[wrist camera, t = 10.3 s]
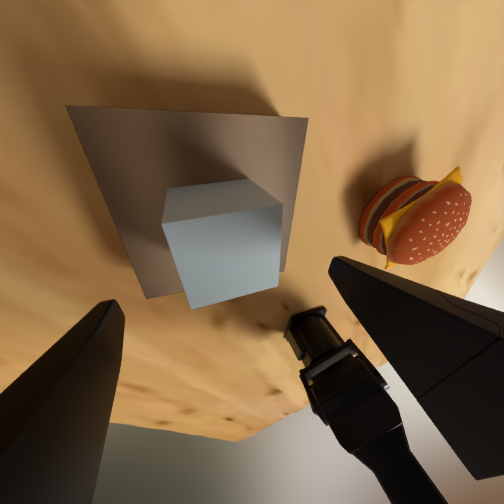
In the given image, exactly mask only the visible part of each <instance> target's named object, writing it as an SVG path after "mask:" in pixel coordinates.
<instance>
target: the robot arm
mask: <svg viewBox="0 0 504 504" xmlns="http://www.w3.org/2000/svg"><path fill="white" fill-rule="evenodd" d="M328 274H329V276H330V278H331V279H332V281H333V283H334V284H335V286H336V288H337V289H338V291H339V293H340V294H341V296H342V298H343V299H344V301H345V302H346V304H347V305H348V307H349V308H350V309H351V311H352V312H353V313H354V315H355V316H356V318H357V319H358V320H359V322H360V323H361V324H362V326H363V327H364V329H365V330H366V331H367V333H368V334H369V335H370V337H371V338H372V339H373V341H374V342H375V344H376V345H377V346H378V348H379V349H380V350H381V352H382V353H383V355H384V356H385V357H386V359H387V360H388V361H389V363H390V364H391V365H392V367H393V368H394V370H395V371H396V372H397V374H398V375H399V376H400V378H401V379H402V381H403V382H404V383H405V384H406V386H407V387H408V389H409V390H410V391H411V393H412V394H413V396H414V397H415V398H416V399H417V401H418V403H419V404H420V405H421V407H422V408H423V410H424V411H425V412H426V414H427V415H428V416H429V418H430V419H431V420H432V422H433V423H434V425H435V426H436V427H437V429H438V430H439V431H440V433H441V434H442V436H443V437H444V438H445V440H446V441H447V442H448V444H449V445H450V446H451V448H452V449H453V451H454V452H455V453H456V455H457V456H458V457H459V459H460V460H461V461H462V463H463V464H464V466H465V467H466V468H467V470H468V471H469V472H470V473H471V475H472V476H473V477H474V478H475V479H476V480H481V479H486V478H491V477H496V476H501V475H504V312H501V311H498V310H495V309H492V308H489V307H486V306H483V305H479V304H476V303H473V302H470V301H467V300H464V299H461V298H459V297H456V296H453V295H450V294H447V293H444V292H442V291H439V290H434V289H433V288H430V287H428V286H425V285H422V284H419V283H416V282H414V281H411V280H408V279H405V278H402V277H400V276H397V275H394V274H391V273H389V272H386V271H383V270H380V269H377V268H375V267H372V266H369V265H366V264H364V263H361V262H358V261H355V260H352V259H350V258H347V257H344V256H337V257H334V258H333V259H332V261H331V264H330V267H329V270H328ZM326 311H327V309H326V308H325V307H323V308H320V309H316V310H312V311H309V312H305V313H302V314H298V315H294V316H292V317H291V319H290V323H289V328H288V332H287V336H286V340H287V341H288V342H289V343H290V345H291V347H292V349H293V351H294V353H295V355H296V357H297V359H298V360H299V361H300V360H302V362H303V364H304V366H305V368H304V369H301V370H299V372H300V376H299V377H300V379H301V381H302V383H303V385H304V387H305V390H306V393H307V396H308V399H309V402H310V405H311V408H312V411H313V413H314V414H316V415H318V416H319V417H320V418H321V420H322V421H323V423H324V424H325V425H326V426H328V425H329V426H330V427H331V429H332V431H333V433H334V435H335V436H336V439H337V440H338V442H339V444H340V445H341V446H342V447H343V448H344V449H345V450H346V451H347V452H348V453H350V454H353V455H354V456H355V457H356V458H357V459H359V460H360V461H361V462H362V463H363V464H364V465H366V466H367V467H368V468H369V469H370V470H372V471H373V473H374V474H375V476H376V477H377V479H378V481H379V483H380V485H381V486H382V488H383V490H384V492H385V493H386V495H387V497H388V499H389V500H390V502H391V504H448V503H447V501H446V500H445V498H444V497H443V496H442V494H441V493H440V492H439V490H438V489H437V487H436V486H435V484H434V483H433V482H432V480H431V479H430V477H429V476H428V475H427V473H426V472H425V471H424V469H423V468H422V466H421V465H420V463H419V462H418V461H417V459H416V458H415V456H414V455H413V454H412V452H411V451H410V449H409V445H408V441H407V438H406V434H405V430H404V427H403V423H402V420H401V416H400V413H399V409H398V407H397V405H396V404H395V402H394V401H393V400H392V398H391V397H390V396H389V394H388V393H387V392H386V391H385V390H387V389H388V388H389V386H388V384H387V383H386V381H385V380H384V379H383V377H382V376H381V375H380V373H379V372H378V371H377V370H376V368H375V367H374V366H373V365H372V363H371V362H370V361H369V360H368V359H367V358H366V356H365V355H364V354H363V353H362V352H361V351H360V350H359V348H358V347H357V346H356V345H355V344H354V343H353V341H352V340H351V339H348V340H347V341H346V342H344V340H343V339H342V338H341V337H340V335H339V334H338V333H337V331H336V330H335V329H334V328H333V326H332V325H331V324H330V322H329V321H328V320H327V318H326V317H325V314H326ZM124 327H125V316H124V313H123V311H122V309H121V308H120V306H119V304H118V302H117V301H116V300H115V299H111V300H106V301H102V302H100V303H98V304H97V305H96V306H95V307H94V308H93V309H92V310H91V311H90V312H88V313H87V314H86V315H85V316H84V317H83V318H82V319H81V320H80V321H79V322H78V323H77V324H75V325H74V326H73V327H72V328H71V329H70V330H69V331H68V332H67V333H66V334H65V335H64V336H62V337H61V338H60V339H59V340H58V341H57V342H56V343H55V344H54V345H53V346H52V347H51V348H49V349H48V350H47V351H46V352H45V353H44V354H43V355H42V356H41V357H40V358H39V359H37V360H36V361H35V362H34V363H33V364H32V365H31V366H30V367H29V368H28V369H27V370H26V371H24V372H23V373H22V374H21V375H20V376H19V377H18V378H17V379H16V380H15V381H14V382H13V383H11V384H10V385H9V386H8V387H7V388H6V389H5V390H4V391H3V392H2V393H1V394H0V504H92V501H93V496H94V491H95V486H96V482H97V477H98V473H99V468H100V463H101V458H102V454H103V449H104V444H105V439H106V434H107V429H108V425H109V420H110V415H111V411H112V406H113V401H114V396H115V392H116V387H117V382H118V377H119V372H120V367H121V360H122V350H123V338H124ZM354 354H355V355H356V357H353V355H354Z"/></svg>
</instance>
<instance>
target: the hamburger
mask: <svg viewBox="0 0 504 504" xmlns="http://www.w3.org/2000/svg"><path fill="white" fill-rule="evenodd" d="M461 183H462V177H461V172H460V168H459V167H456V168H455V169H454V170H453V171H452V172H451V173H450V174H448V175H447V176H446V177H445V178H444V179H443V180H442V181H440V182H438V181H429V182H427V181H423V180H421V179H420V178H419V177H415V176H411V177H400V178H398V179H396V180H394V181H392V182H390V183H388V184H387V185H386V186H384V187H383V188H382V189H381V190H380V191H379V192H378V193H377V194H376V195H375V196H374V197H373V198H372V200H371V201H370V203H369V204H368V205H367V207H366V208H365V210H364V212H363V215H362V218H361V220H360V223H359V235H360V237H361V239H362V240H363V242H364V243H365V244H366V245H369V246H372V247H374V248H376V249H377V251H378V252H379V253H381V254H383V255H386V256H387V265H386V266H385V268H384V269H388V268H390V267H392V266H394V265H396V264H405V265H413V264H417V263H420V262H422V261H424V260H426V259H428V258H430V257H432V256H434V255H436V254H438V253H439V252H441V251H442V250H443V249H444V248H445V247H446V246H448V245H449V244H450V243H451V242H452V241H453V240H454V239H455V238H456V237H457V235H458V234H459V232H460V231H461V230H462V228H463V227H464V226H465V224H466V222H467V219H468V215H469V211H470V206H471V195H470V193H469V192H468V191H467V190H466V189H465V188H464V187H462V186H461Z"/></svg>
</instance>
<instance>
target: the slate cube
mask: <svg viewBox="0 0 504 504" xmlns="http://www.w3.org/2000/svg"><path fill="white" fill-rule="evenodd" d="M282 217H283V204H282V203H281V202H280V201H278V200H277V199H276V198H274V197H273V196H272V195H270V194H269V193H268V192H266V191H265V190H264V189H262V188H261V187H260V186H258V185H257V184H256V183H254V182H253V181H252V180H250V179H242V180H234V181H225V182H217V183H209V184H200V185H192V186H184V187H176V188H168V189H167V195H166V201H165V206H164V212H163V218H162V227H163V230H164V233H165V235H166V238H167V241H168V244H169V247H170V250H171V253H172V256H173V258H174V261H175V264H176V267H177V270H178V273H179V276H180V279H181V281H182V284H183V287H184V290H185V293H186V296H187V299H188V302H189V304H190V307H191V310H193V309H197V308H200V307H204V306H208V305H211V304H215V303H219V302H222V301H226V300H229V299H233V298H237V297H240V296H244V295H248V294H251V293H255V292H259V291H262V290H266V289H270V288H273V287H277V286H278V284H279V267H280V250H281V234H282Z"/></svg>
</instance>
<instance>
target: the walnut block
mask: <svg viewBox="0 0 504 504" xmlns="http://www.w3.org/2000/svg"><path fill="white" fill-rule="evenodd" d="M65 106H66V108H67V111H68V113H69V116H70V118H71V120H72V123H73V125H74V128H75V130H76V132H77V135H78V137H79V139H80V142H81V144H82V147H83V149H84V151H85V154H86V156H87V159H88V161H89V163H90V166H91V168H92V171H93V173H94V175H95V178H96V180H97V182H98V185H99V187H100V190H101V192H102V194H103V197H104V199H105V202H106V204H107V206H108V209H109V211H110V214H111V216H112V218H113V221H114V223H115V225H116V228H117V230H118V233H119V235H120V237H121V240H122V242H123V245H124V247H125V249H126V252H127V254H128V257H129V259H130V261H131V264H132V266H133V268H134V271H135V273H136V276H137V278H138V280H139V283H140V285H141V288H142V290H143V292H144V295H145V297H146V299H150V298H155V297H160V296H165V295H170V294H175V293H180V292H185V290H184V287H183V284H182V281H181V279H180V276H179V273H178V270H177V267H176V264H175V261H174V258H173V256H172V253H171V250H170V247H169V244H168V241H167V238H166V235H165V233H164V230H163V227H162V218H163V212H164V206H165V201H166V195H167V189H168V188H176V187H184V186H192V185H200V184H209V183H217V182H225V181H234V180H242V179H250V180H252V181H253V182H254V183H256V184H257V185H258V186H260V187H261V188H262V189H264V190H265V191H266V192H268V193H269V194H270V195H272V196H273V197H274V198H276V199H277V200H278V201H280V202H281V203H282V204H283V217H282V234H281V250H280V267H279V272H283V271H284V269H285V262H286V256H287V250H288V244H289V237H290V231H291V225H292V219H293V212H294V206H295V200H296V194H297V187H298V181H299V175H300V169H301V162H302V156H303V150H304V144H305V137H306V131H307V125H308V118H301V117H281V116H262V115H243V114H224V113H204V112H185V111H166V110H146V109H127V108H108V107H88V106H69V105H65Z"/></svg>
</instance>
